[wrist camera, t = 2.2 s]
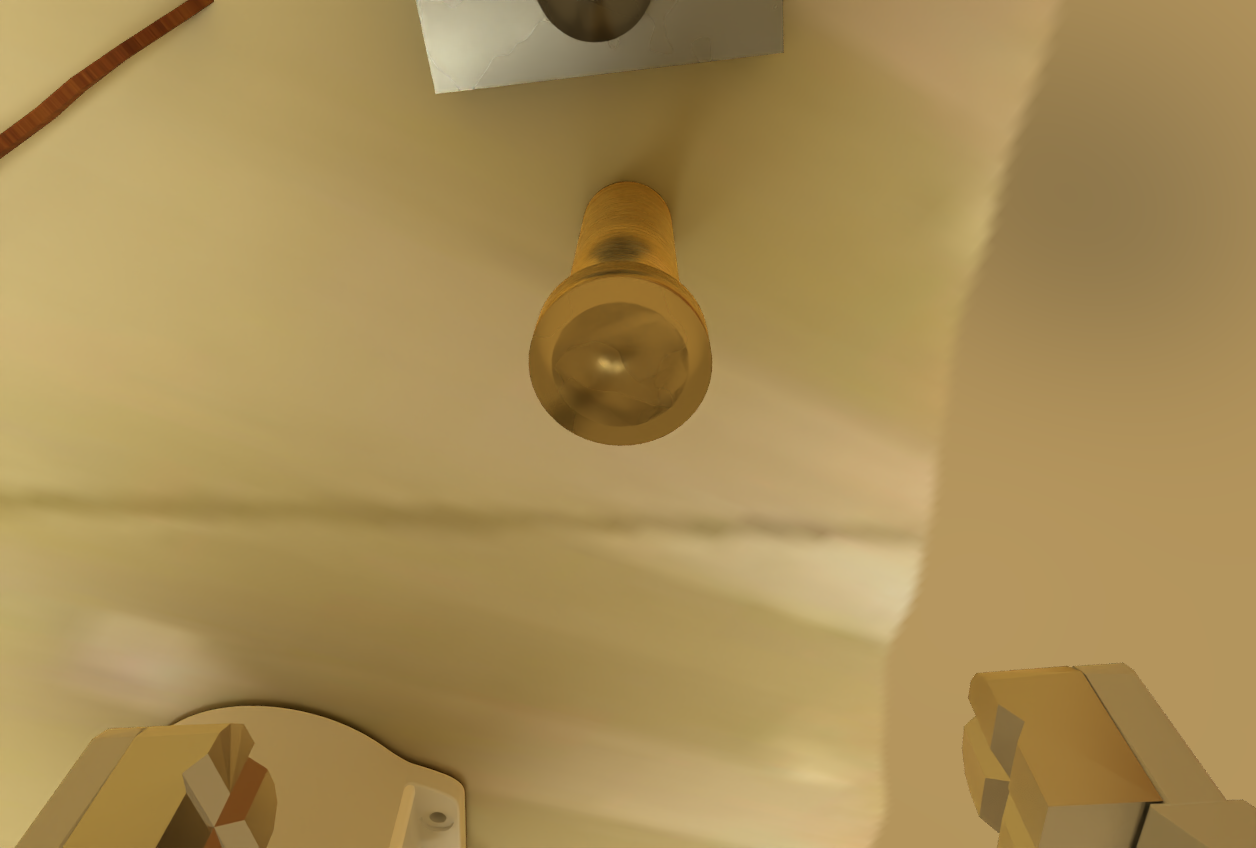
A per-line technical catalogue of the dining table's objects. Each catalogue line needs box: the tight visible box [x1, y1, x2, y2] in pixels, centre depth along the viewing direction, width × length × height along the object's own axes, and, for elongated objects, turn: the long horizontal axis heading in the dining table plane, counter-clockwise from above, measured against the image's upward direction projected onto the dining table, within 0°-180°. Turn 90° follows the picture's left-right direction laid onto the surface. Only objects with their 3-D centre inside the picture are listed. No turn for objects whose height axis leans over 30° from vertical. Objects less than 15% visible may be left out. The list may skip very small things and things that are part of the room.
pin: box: [529, 181, 712, 446], centre depth 22 cm, size 4×4×11 cm
